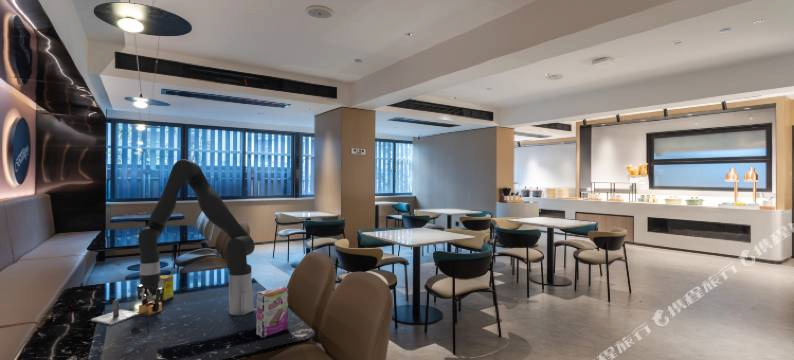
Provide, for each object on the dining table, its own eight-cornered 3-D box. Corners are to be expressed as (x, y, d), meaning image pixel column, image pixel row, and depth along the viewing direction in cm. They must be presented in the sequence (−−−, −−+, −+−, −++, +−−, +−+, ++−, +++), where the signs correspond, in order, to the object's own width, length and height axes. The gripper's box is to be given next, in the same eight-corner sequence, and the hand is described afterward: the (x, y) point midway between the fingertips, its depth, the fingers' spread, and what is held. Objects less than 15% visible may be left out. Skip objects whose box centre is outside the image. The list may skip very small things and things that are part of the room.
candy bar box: (263, 338, 144) (262, 294, 143) (255, 335, 147) (255, 292, 146) (288, 329, 152) (288, 287, 152) (281, 326, 155) (281, 285, 155)
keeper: (139, 314, 166) (139, 296, 166) (110, 325, 155) (110, 306, 155) (121, 311, 170) (120, 293, 170) (91, 321, 159) (90, 302, 159)
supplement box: (173, 297, 189) (173, 275, 188) (165, 301, 183) (164, 278, 182) (162, 297, 189) (162, 274, 189) (153, 301, 183) (153, 278, 183)
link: (161, 310, 171) (161, 302, 171) (148, 315, 165) (148, 307, 165) (152, 308, 173) (152, 301, 173) (139, 313, 168) (138, 305, 167)
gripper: (169, 271, 170) (170, 309, 170) (146, 268, 175) (147, 305, 175) (153, 276, 163) (154, 315, 163) (130, 272, 168) (130, 311, 168)
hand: (150, 310), depth 169 cm, fingers closed on link, 6 cm apart
